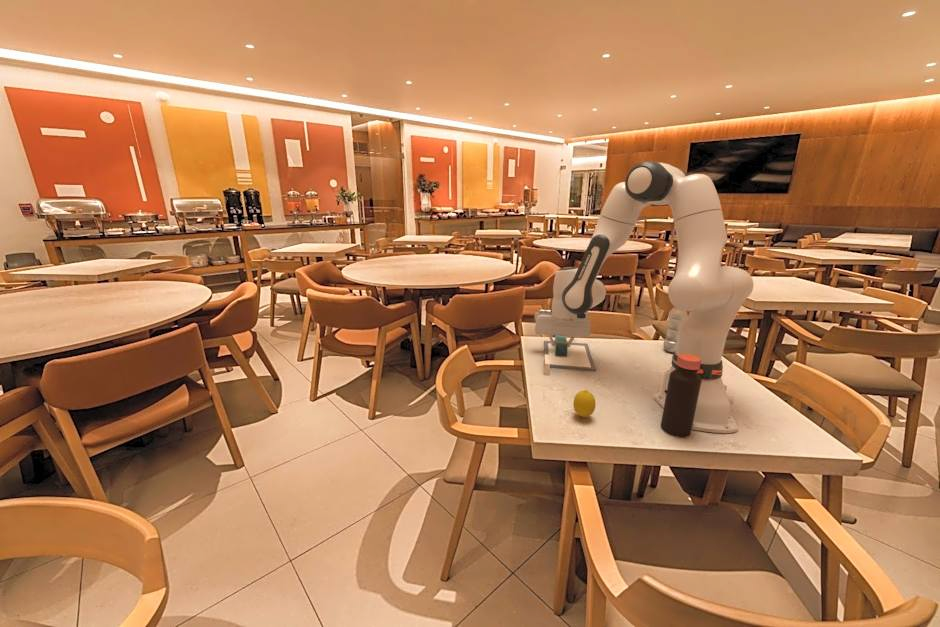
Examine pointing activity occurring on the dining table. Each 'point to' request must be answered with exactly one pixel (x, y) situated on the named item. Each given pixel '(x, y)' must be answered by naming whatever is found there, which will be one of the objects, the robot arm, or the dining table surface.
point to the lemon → (584, 403)
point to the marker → (561, 346)
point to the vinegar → (682, 396)
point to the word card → (546, 364)
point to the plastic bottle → (674, 328)
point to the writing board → (571, 357)
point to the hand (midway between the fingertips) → (560, 346)
